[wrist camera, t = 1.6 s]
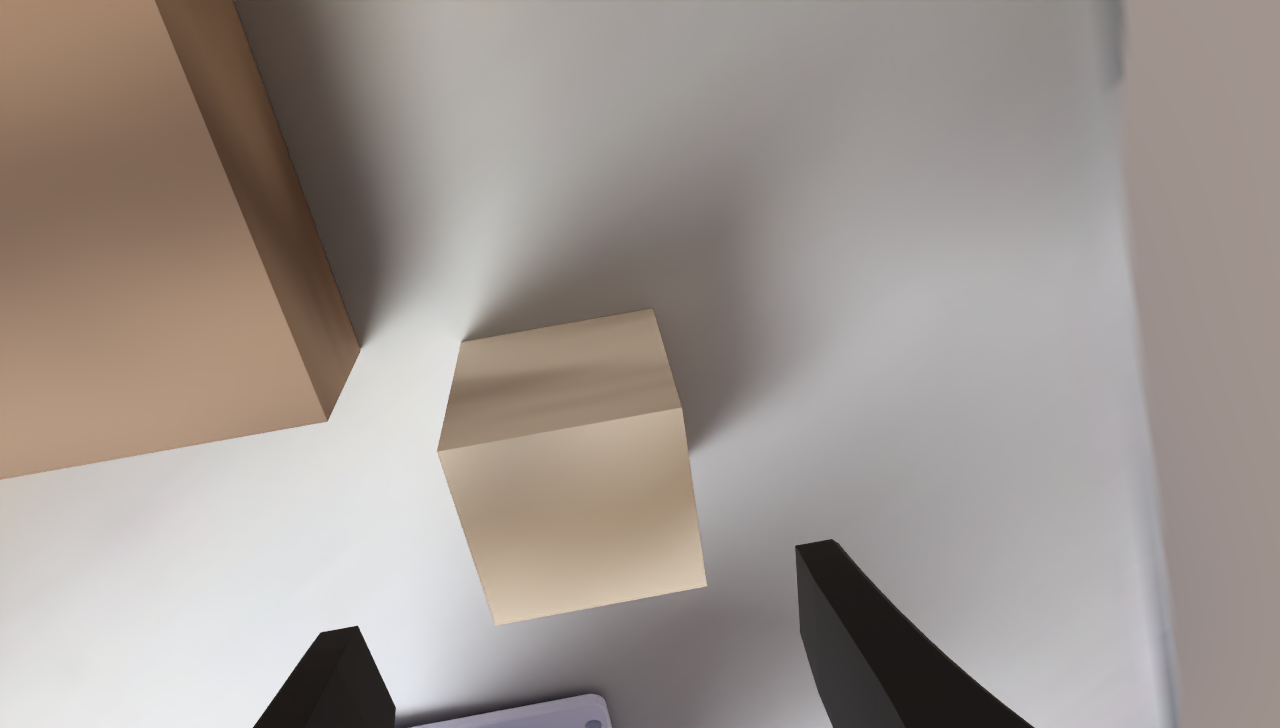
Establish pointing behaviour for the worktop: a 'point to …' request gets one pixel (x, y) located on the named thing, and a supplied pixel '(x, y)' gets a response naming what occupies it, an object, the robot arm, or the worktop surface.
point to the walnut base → (151, 240)
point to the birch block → (572, 467)
